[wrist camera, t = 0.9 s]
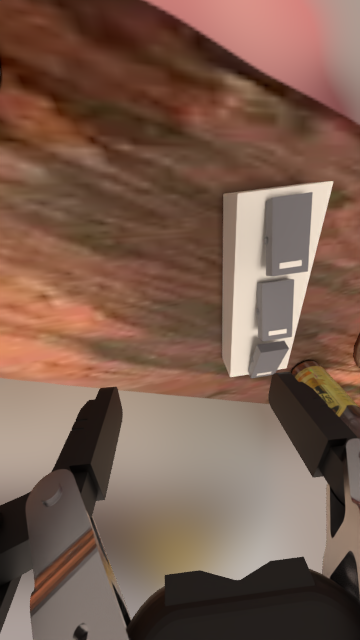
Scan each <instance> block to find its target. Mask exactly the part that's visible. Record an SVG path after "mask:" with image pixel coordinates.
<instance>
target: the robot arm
mask: <svg viewBox="0 0 360 640" xmlns="http://www.w3.org/2000/svg"><path fill="white" fill-rule="evenodd" d="M0 74H1V70H0ZM269 403H270V406H271V408H272V409H273V411H274V413H275V415H276V416H277V418H278V420H279V421H280V423H281V425H282V426H283V428H284V430H285V431H286V433H287V435H288V436H289V438H290V440H291V441H292V443H293V445H294V446H295V448H296V450H297V451H298V453H299V455H300V457H301V458H302V460H303V461H304V463H305V465H306V466H307V468H308V470H309V472H310V473H311V475H312V477H320V476H324V478H325V479H326V481H327V482H328V484H327V487H326V523H327V524H326V526H327V527H326V528H327V529H326V533H327V534H326V539H327V540H326V547H325V552H324V557H323V566H322V574H320V573H318V572H316V571H313V570H311V569H309V568H308V566H307V564H306V561H305V559H304V557H299V558H291V559H283V560H275V561H270V562H268V563H267V564H265V565H263V566H262V567H260V568H259V569H257V570H256V571H254V572H252V573H251V574H249V575H248V576H246V577H245V578H243V579H241V580H232V579H229V578H225V577H222V576H218V575H214V574H211V573H207V572H203V571H192V572H184V573H178V574H169V575H165V586H164V587H162V588H161V589H159V590H157V592H155V593H154V594H153V595H151V596H150V597H149V598H148V599H147V600H146V602H145V603H144V604H143V605H142V606H141V607H140V609H139V610H138V611H137V613H136V614H135V616H134V617H133V619H131V617H130V614H129V611H128V609H127V606H126V603H125V600H124V598H123V595H122V593H121V590H120V587H119V585H118V583H117V580H116V578H115V575H114V573H113V570H112V567H111V565H110V562H109V559H108V557H107V554H106V551H105V548H104V546H103V543H102V540H101V538H100V535H99V532H98V529H97V527H96V524H95V521H94V519H93V516H92V514H93V510H94V506H95V502H96V501H99V500H105V497H106V491H107V488H108V483H109V478H110V474H111V469H112V465H113V460H114V455H115V451H116V445H117V442H118V437H119V432H120V428H121V422H122V406H121V402H120V398H119V393H118V389H117V387H107V388H100V390H99V392H98V394H97V397H96V399H95V400H89V401H88V402H87V403H86V404H85V405H84V406H83V407H82V408H81V410H80V412H79V414H78V416H77V419H76V422H75V423H74V425H73V427H72V431H70V434H69V436H68V438H67V440H66V442H65V444H64V447H63V449H62V451H61V453H60V456H59V458H58V460H57V462H56V464H55V467H54V468H53V470H52V472H51V473H49V474H48V475H46V476H45V477H44V478H42V479H41V480H40V481H39V482H38V483H37V484H36V485H35V487H34V488H33V490H32V491H31V492H29V493H27V494H25V495H23V496H21V497H19V498H17V499H14V500H12V501H10V502H7V503H5V504H3V505H0V632H1V629H2V627H3V624H4V621H5V619H6V616H7V613H8V611H9V608H10V605H11V603H12V600H13V597H14V594H15V592H16V589H17V586H18V584H19V581H20V578H21V576H22V574H24V573H26V572H28V571H29V570H31V569H33V572H34V580H35V588H34V591H33V592H32V594H31V598H30V615H31V624H32V635H33V640H360V439H359V438H358V437H357V436H356V435H355V434H354V433H353V432H352V430H351V429H350V428H349V427H348V426H347V425H346V424H345V423H344V422H343V421H342V420H341V419H340V417H339V416H338V415H337V414H336V413H335V412H334V411H333V410H332V409H331V408H330V407H328V404H327V403H326V402H325V401H324V400H323V399H321V397H320V396H319V395H318V394H317V393H316V392H315V390H314V389H313V388H311V387H310V386H308V385H306V384H305V383H303V382H298V380H297V379H296V378H295V377H294V376H293V375H292V374H291V373H290V372H284V373H274V374H273V375H272V380H271V385H270V390H269Z"/></svg>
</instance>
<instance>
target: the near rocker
mask: <svg viewBox="0 0 360 640" xmlns="http://www.w3.org/2000/svg"><path fill="white" fill-rule="evenodd" d="M312 194H313V192H309V193H301V194H294V195H286V196H278V197H272V198H270V199H269V200H267V201H266V236H265V238H264V243H265V245H266V276H279V275H286V274H293V273H300V272H307V271H308V262H309V245H310V228H311V211H312Z"/></svg>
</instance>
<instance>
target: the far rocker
mask: <svg viewBox="0 0 360 640" xmlns="http://www.w3.org/2000/svg"><path fill="white" fill-rule="evenodd" d="M288 350H289V347H288V346H287V344H286V342H285V341H278V342H271V343H265V344H258V345H257V346H256V349H255V352H254V354H253V356H251V363H250V366H249V369H248V372H249V375H250V377H251V378H255V377H261V376H268V375H273V374H274V373H275V372H276V371H277V369H278V367H279V365H280V364H281V362H282V360H283V358H284V357H285V355H286V353H287V351H288Z"/></svg>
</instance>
